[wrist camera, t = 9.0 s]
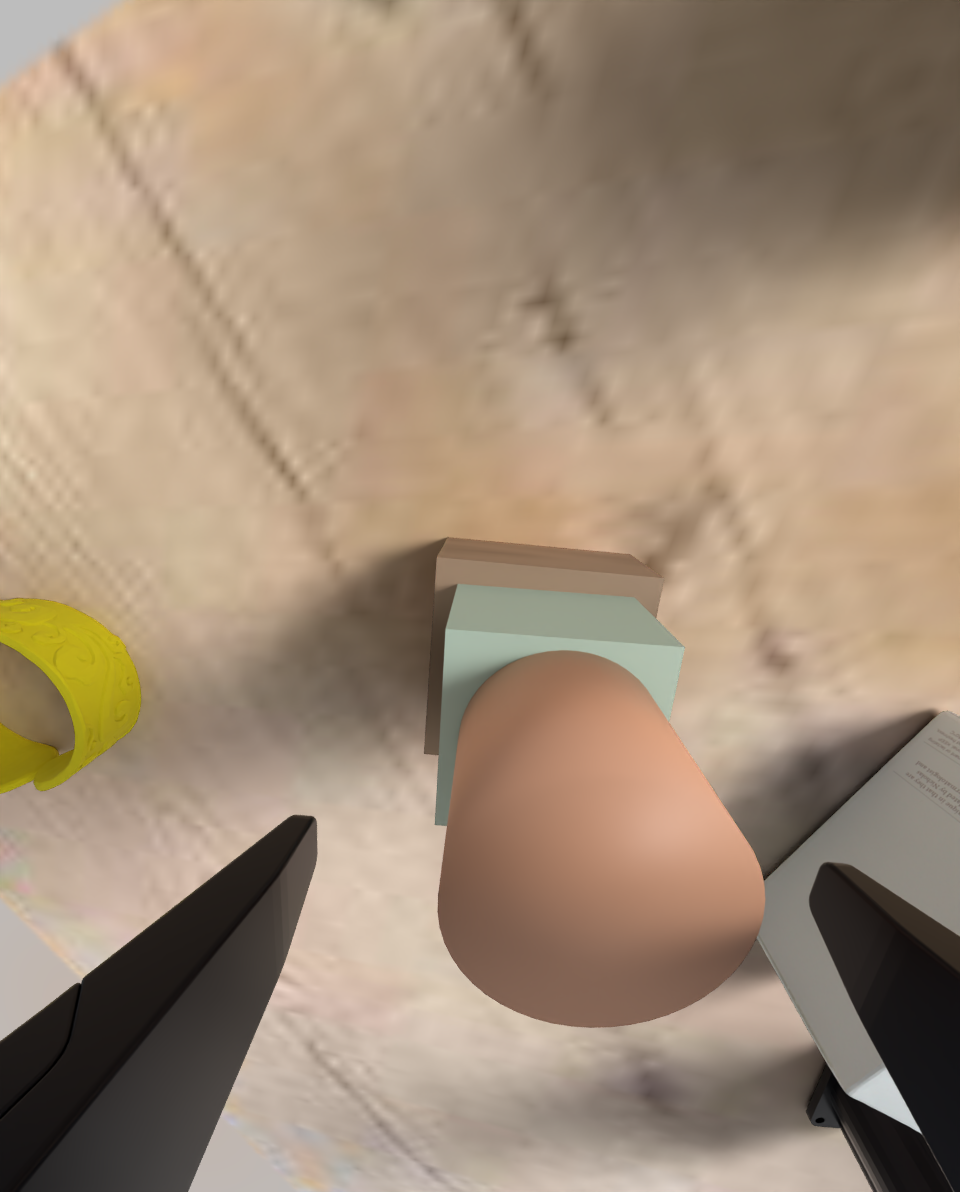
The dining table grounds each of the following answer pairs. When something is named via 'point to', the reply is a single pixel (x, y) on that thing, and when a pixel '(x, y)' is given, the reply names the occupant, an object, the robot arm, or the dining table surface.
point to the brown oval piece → (589, 851)
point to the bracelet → (68, 689)
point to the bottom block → (524, 571)
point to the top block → (543, 649)
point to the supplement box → (890, 857)
